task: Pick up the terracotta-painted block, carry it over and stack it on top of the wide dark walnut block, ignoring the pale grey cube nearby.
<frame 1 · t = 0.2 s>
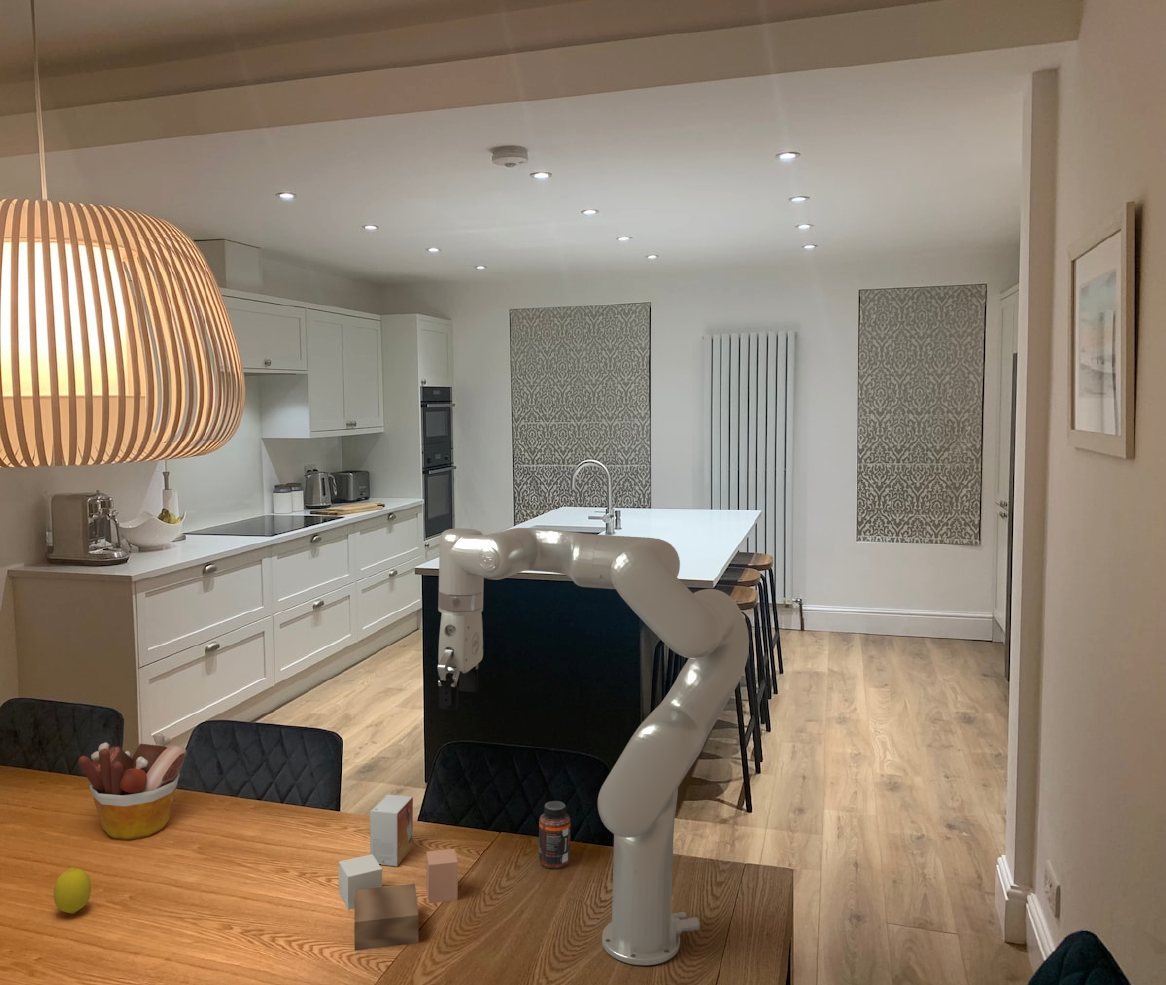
hand: (458, 699, 156), 36 cm above the table, tool pointing down, fingers open, 9 cm apart
terracotta block: (441, 894, 161), on the table
grey cube: (360, 897, 160), on the table
walnut block: (385, 930, 150), on the table
lemon: (73, 914, 153), on the table
bucket of meat: (135, 830, 184), on the table
supplement bottle: (554, 863, 174), on the table
small box: (391, 857, 175), on the table
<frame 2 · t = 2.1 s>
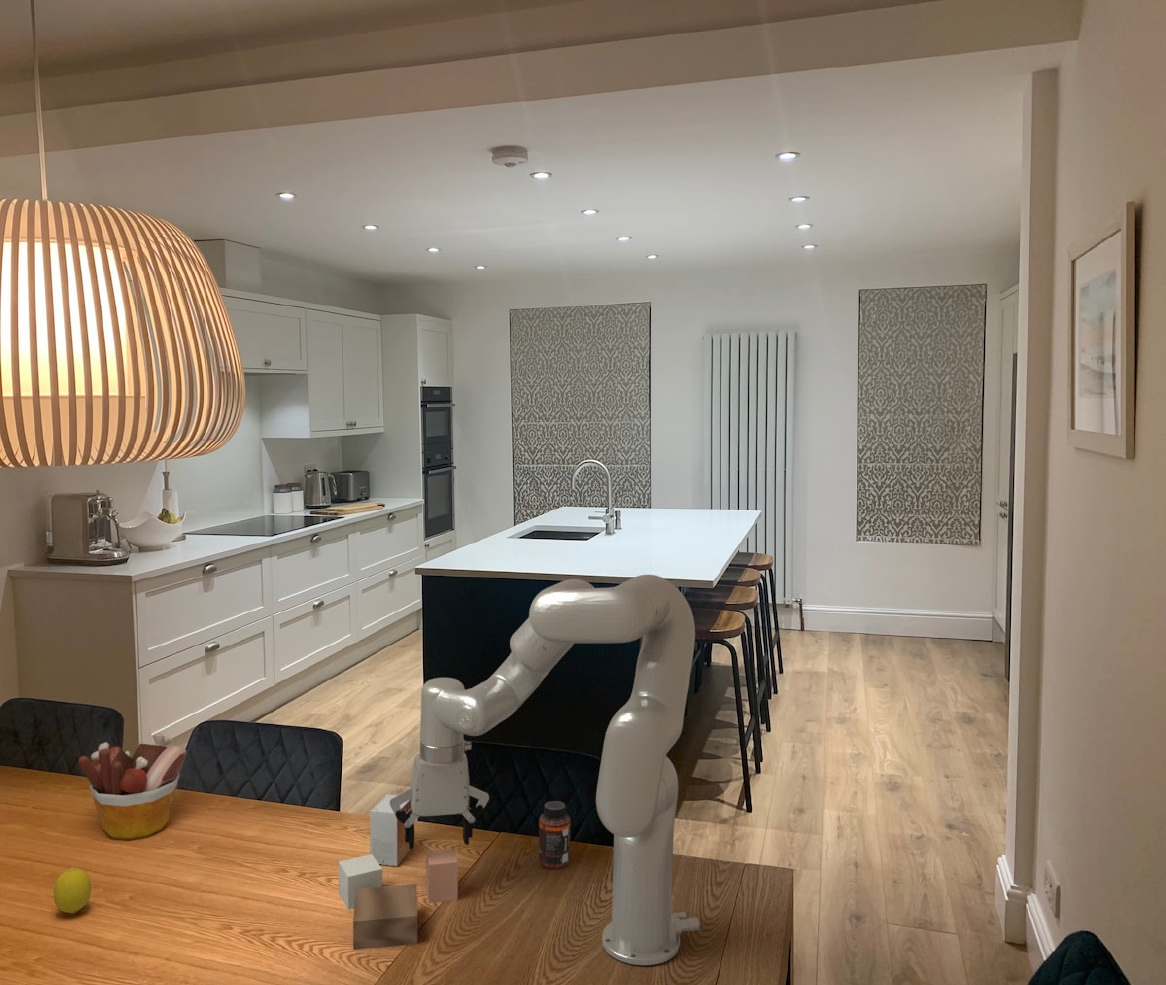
hand: (438, 843, 161), 9 cm above the table, tool pointing down, fingers open, 9 cm apart
nothing on the table moved.
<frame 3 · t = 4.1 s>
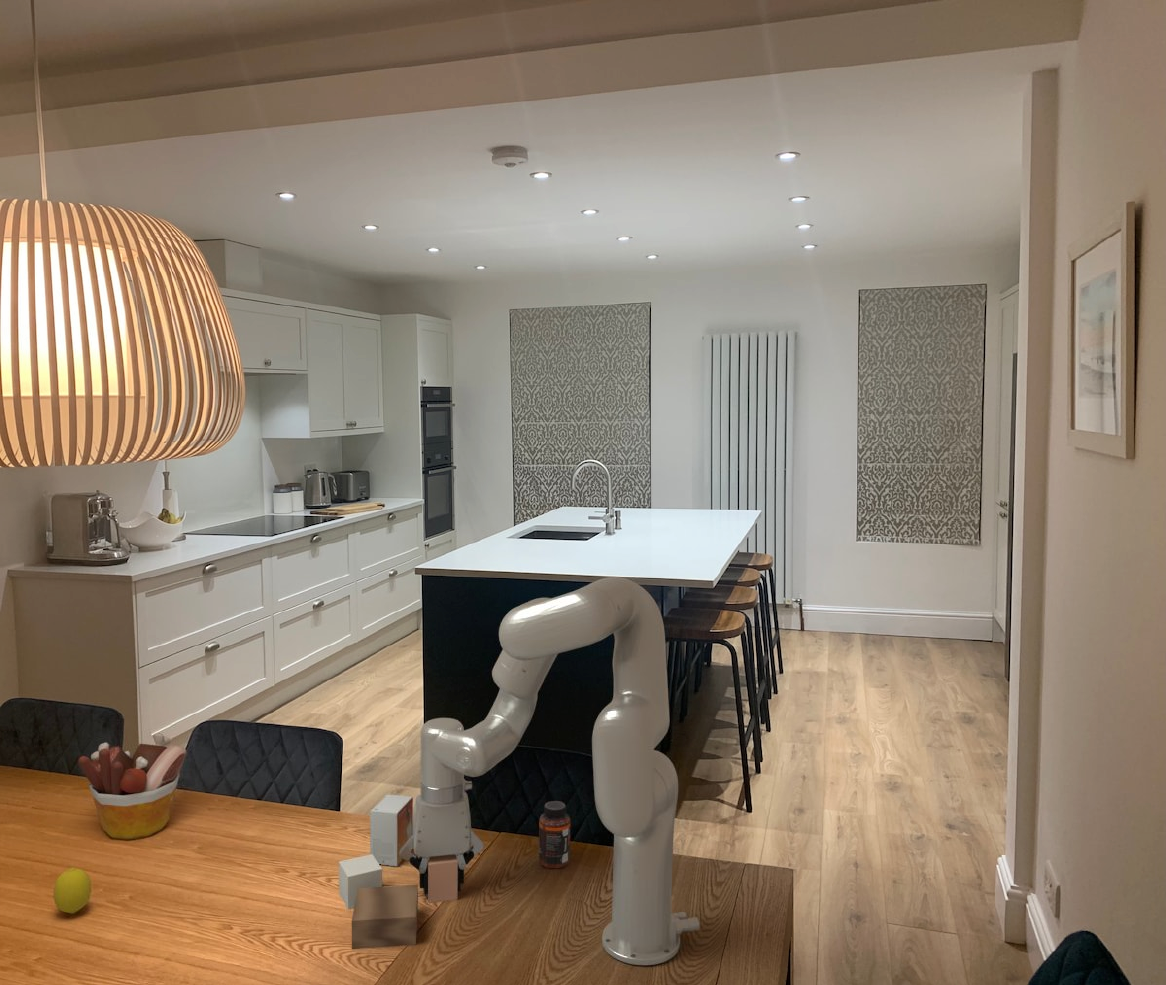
hand: (441, 888, 161), 1 cm above the table, tool pointing down, fingers closed on terracotta block, 5 cm apart
terracotta block: (441, 894, 162), on the table, touching gripper
everything else where it was.
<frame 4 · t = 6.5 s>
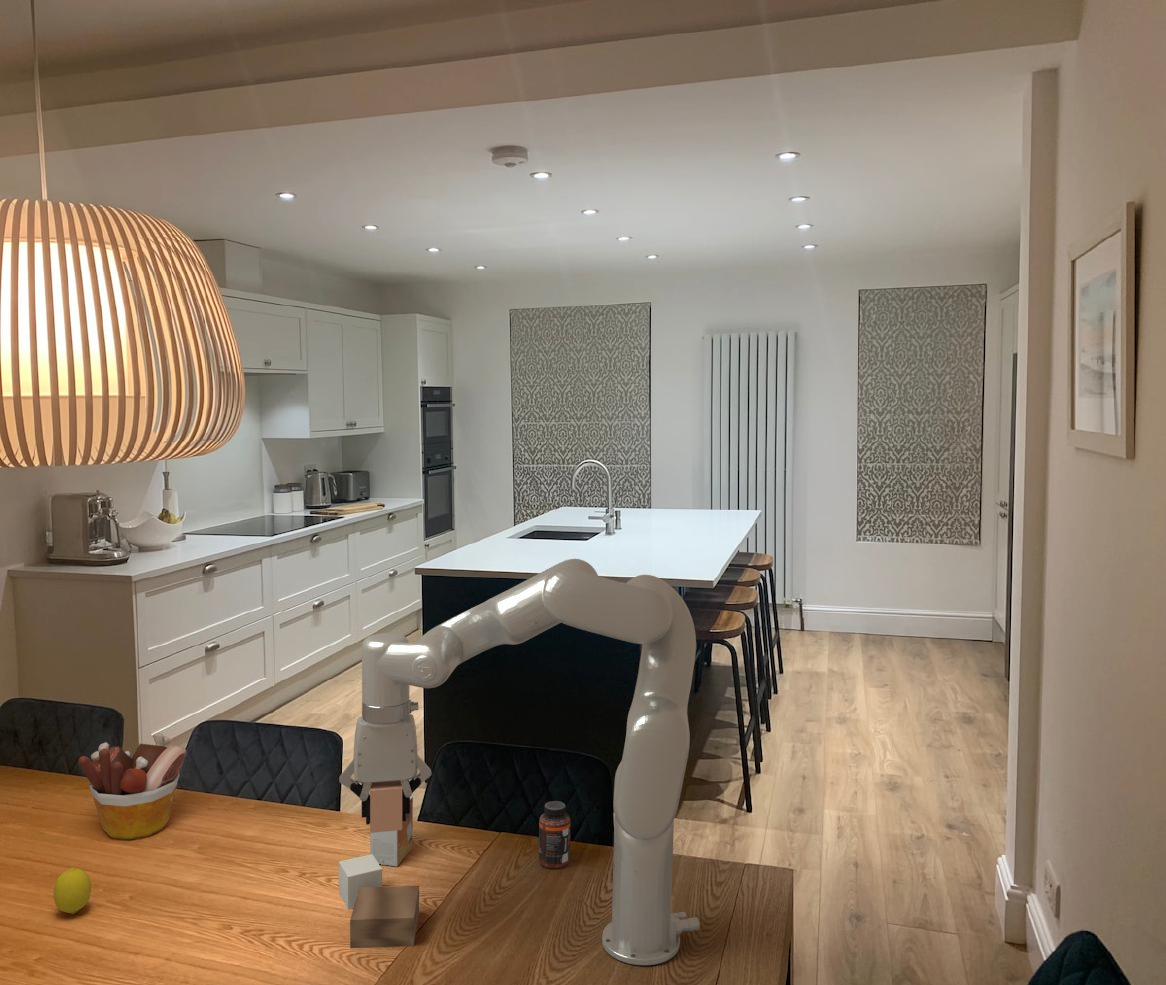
hand: (385, 818, 149), 19 cm above the table, tool pointing down, fingers closed on terracotta block, 5 cm apart
terracotta block: (385, 824, 149), point 18 cm above the table, touching gripper
everything else where it was.
when the fingers open (7 cm above the table, at t = 9.3 s): terracotta block drops 2 cm, resting on walnut block.
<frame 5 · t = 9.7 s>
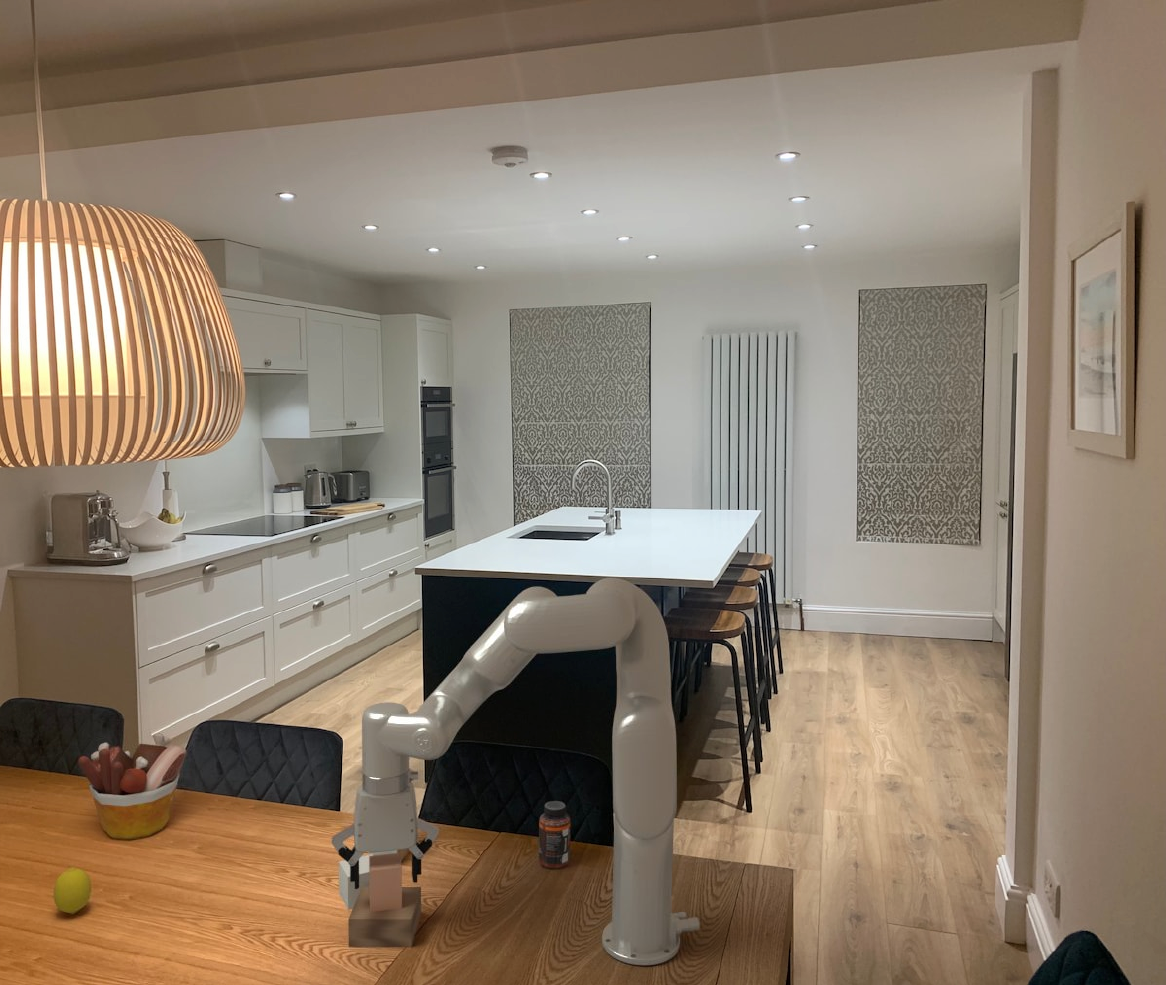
hand: (385, 881, 150), 8 cm above the table, tool pointing down, fingers open, 9 cm apart
terracotta block: (385, 902, 150), point 5 cm above the table, touching walnut block
walnut block: (386, 931, 150), on the table, touching terracotta block
everything else where it was.
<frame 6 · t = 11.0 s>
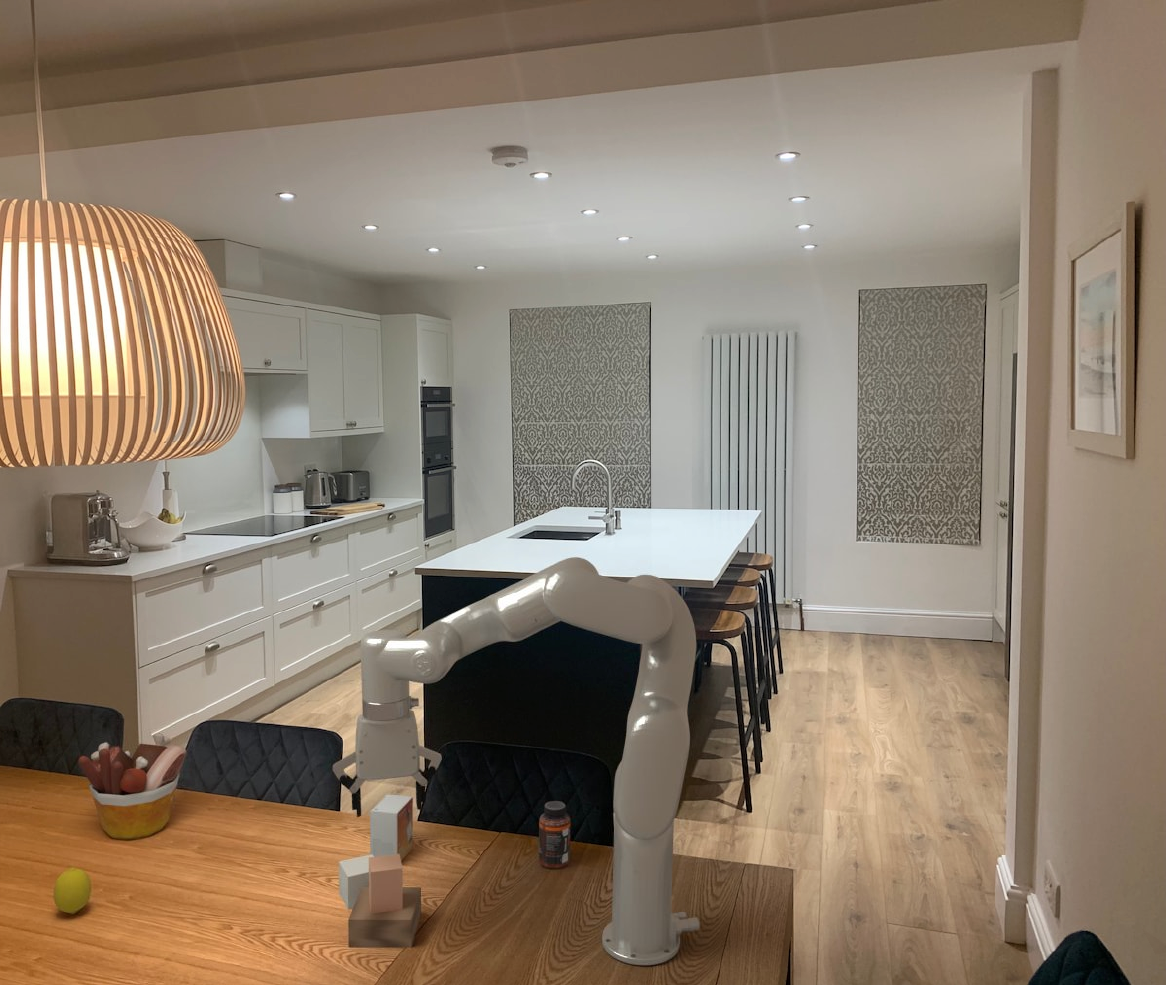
hand: (389, 809, 148), 20 cm above the table, tool pointing down, fingers open, 9 cm apart
nothing on the table moved.
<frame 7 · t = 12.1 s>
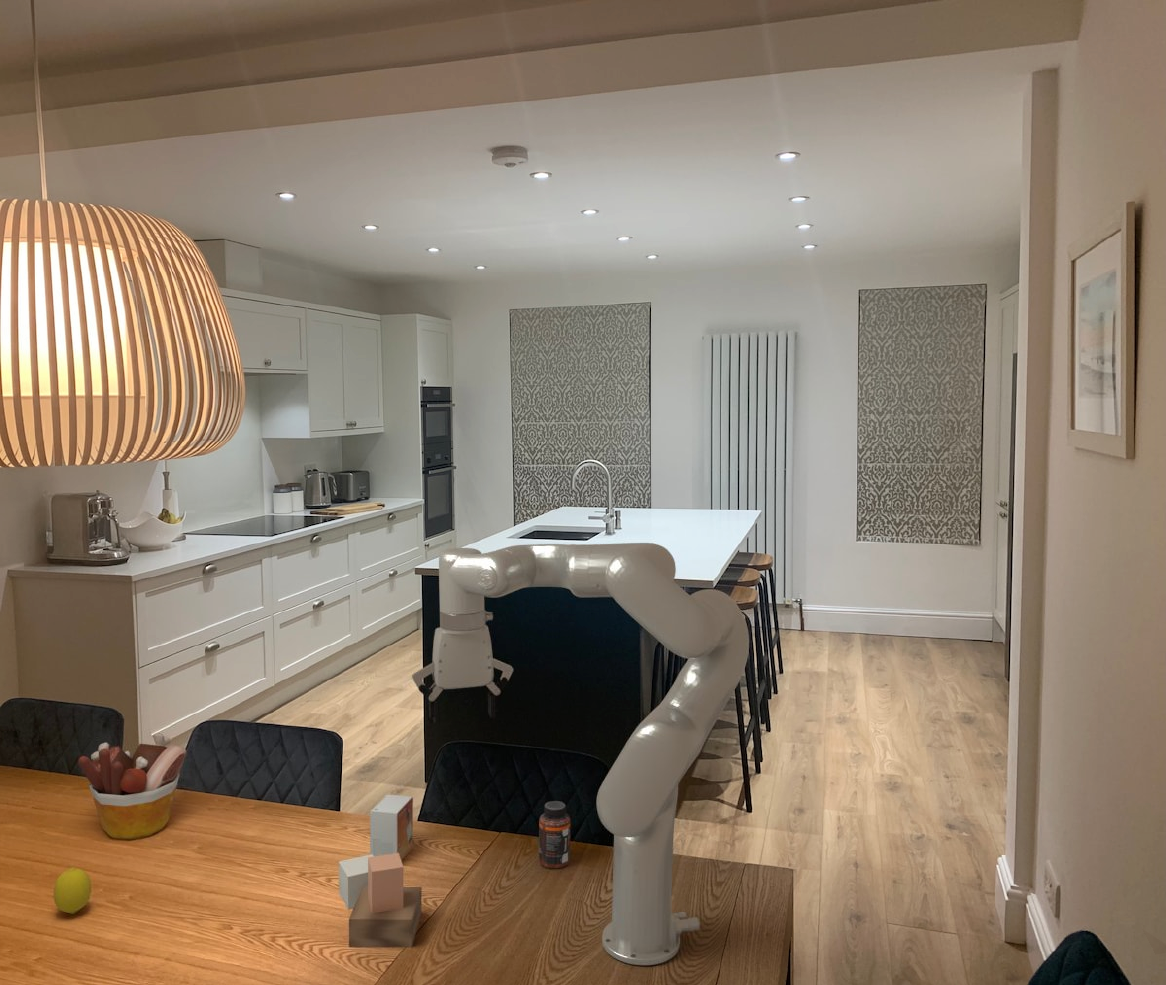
hand: (464, 718, 157), 33 cm above the table, tool pointing down, fingers open, 9 cm apart
nothing on the table moved.
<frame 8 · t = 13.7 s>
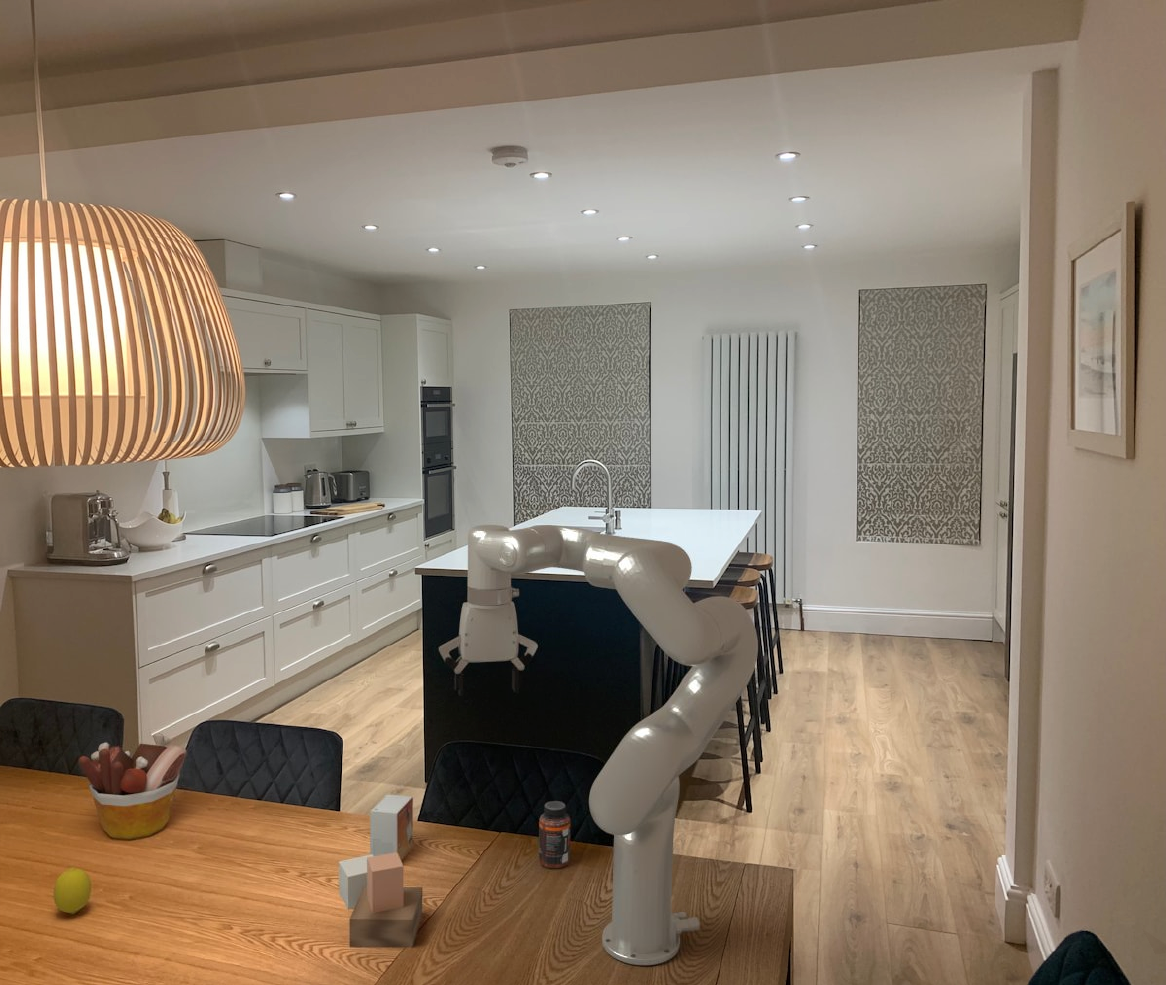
hand: (488, 691, 160), 36 cm above the table, tool pointing down, fingers open, 9 cm apart
nothing on the table moved.
at the end: terracotta block 0.3 cm from the walnut block (horizontally); terracotta block point 4.6 cm above the table; terracotta block tilted 0° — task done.
